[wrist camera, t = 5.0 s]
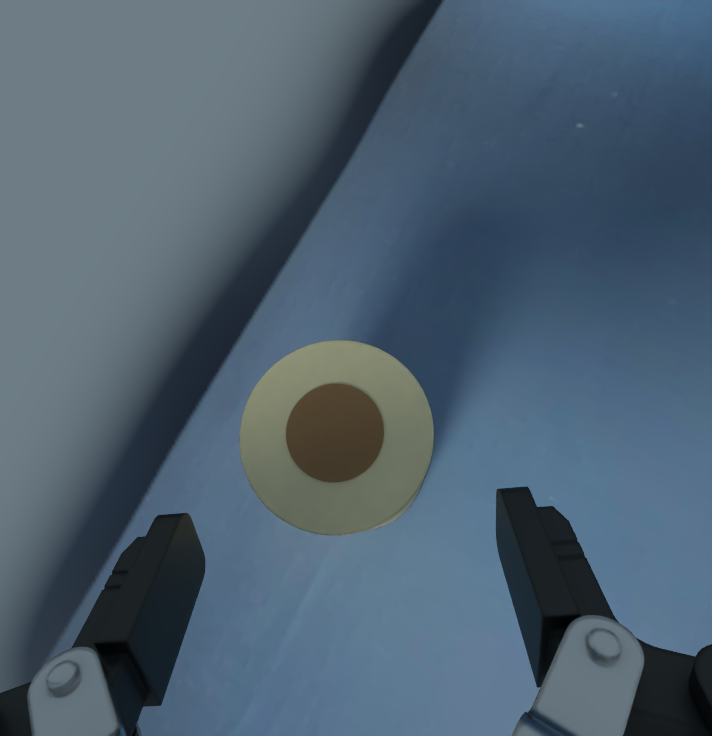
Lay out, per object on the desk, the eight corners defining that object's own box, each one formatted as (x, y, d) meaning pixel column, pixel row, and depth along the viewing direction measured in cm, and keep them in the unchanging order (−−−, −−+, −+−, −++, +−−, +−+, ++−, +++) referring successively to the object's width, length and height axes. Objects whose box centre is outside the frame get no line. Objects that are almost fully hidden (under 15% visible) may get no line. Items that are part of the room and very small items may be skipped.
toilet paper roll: (308, 541, 20) (249, 553, 13) (290, 415, 22) (228, 359, 14) (437, 516, 20) (455, 513, 13) (409, 391, 22) (410, 321, 14)
